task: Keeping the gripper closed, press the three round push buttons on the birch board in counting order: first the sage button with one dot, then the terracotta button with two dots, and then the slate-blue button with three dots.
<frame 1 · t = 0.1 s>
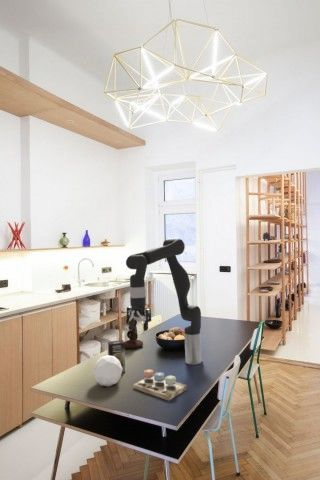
hand: (139, 329, 161), 29 cm above the table, tool pointing down, fingers open, 8 cm apart
three dot button: (159, 376, 161), point 6 cm above the table, slide at 0.0 cm
geometric shape: (108, 384, 169), on the table
coffee box: (116, 371, 186), on the table
dark brown tall piece: (132, 347, 229), on the table
button board: (159, 388, 161), on the table
two dot button: (148, 373, 165), point 6 cm above the table, slide at 0.0 cm
one dot button: (170, 380, 156), point 6 cm above the table, slide at 0.0 cm
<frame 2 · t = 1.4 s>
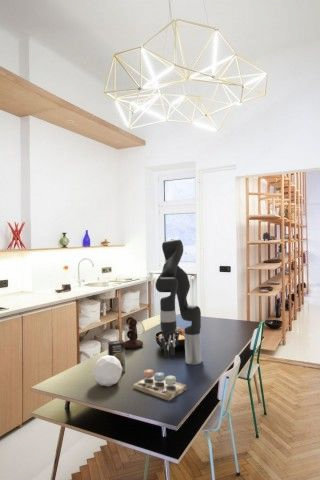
hand: (169, 356, 157), 17 cm above the table, tool pointing down, fingers open, 3 cm apart
nothing on the table moved.
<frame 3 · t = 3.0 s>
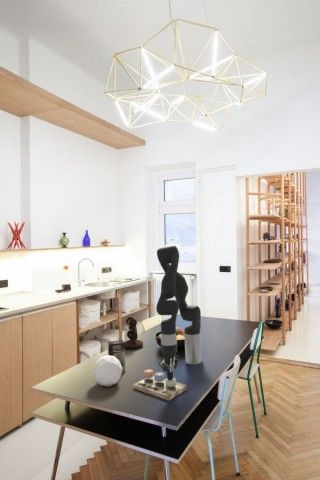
hand: (170, 379, 156), 6 cm above the table, tool pointing down, fingers closed
one dot button: (170, 381, 156), point 5 cm above the table, slide at 0.8 cm, touching gripper
everything else where it was.
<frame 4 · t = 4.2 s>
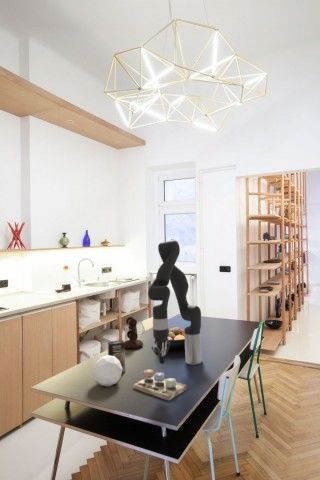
hand: (162, 363, 160), 13 cm above the table, tool pointing down, fingers closed
one dot button: (170, 382, 156), point 5 cm above the table, slide at 1.2 cm
everything else where it was.
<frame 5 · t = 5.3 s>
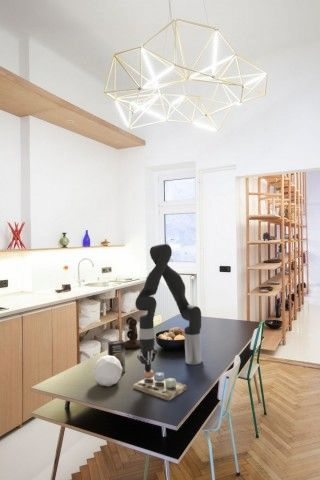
hand: (147, 371, 165), 7 cm above the table, tool pointing down, fingers closed
two dot button: (148, 373, 165), point 6 cm above the table, slide at 0.1 cm, touching gripper
everything else where it was.
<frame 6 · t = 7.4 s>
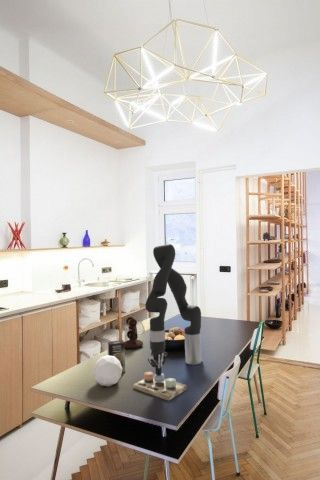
hand: (158, 374, 161), 7 cm above the table, tool pointing down, fingers closed
three dot button: (159, 377, 161), point 6 cm above the table, slide at 0.3 cm, touching gripper
two dot button: (148, 376, 165), point 5 cm above the table, slide at 1.2 cm
everything else where it was.
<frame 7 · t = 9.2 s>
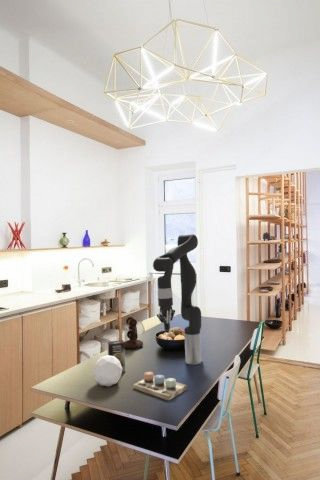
hand: (167, 330, 171), 26 cm above the table, tool pointing down, fingers closed
three dot button: (159, 379, 161), point 5 cm above the table, slide at 1.2 cm
everything else where it was.
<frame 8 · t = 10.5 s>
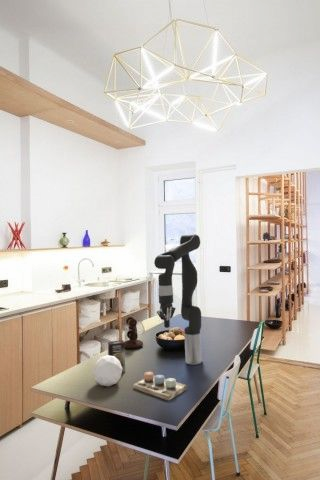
hand: (167, 327, 172), 27 cm above the table, tool pointing down, fingers closed
nothing on the table moved.
at the end: one dot button slide at 1.2 cm; two dot button slide at 1.2 cm; three dot button slide at 1.2 cm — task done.
